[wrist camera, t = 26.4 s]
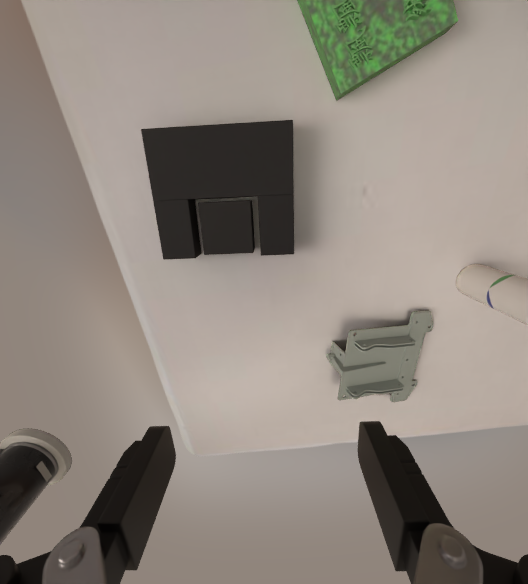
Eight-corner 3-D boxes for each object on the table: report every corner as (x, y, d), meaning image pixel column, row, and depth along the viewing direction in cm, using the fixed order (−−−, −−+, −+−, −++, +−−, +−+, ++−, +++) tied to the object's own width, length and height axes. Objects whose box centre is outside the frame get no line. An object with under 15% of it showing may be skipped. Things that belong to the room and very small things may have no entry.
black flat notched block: (172, 254, 35) (163, 259, 32) (152, 135, 31) (140, 129, 28) (292, 249, 35) (293, 254, 32) (290, 127, 30) (292, 119, 27)
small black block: (209, 250, 35) (204, 254, 32) (204, 202, 33) (197, 202, 30) (254, 248, 35) (253, 252, 32) (252, 200, 33) (250, 200, 30)
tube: (495, 268, 35) (650, 314, 21) (479, 298, 36) (614, 360, 22) (465, 260, 34) (600, 302, 20) (450, 290, 36) (566, 349, 22)
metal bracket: (337, 422, 36) (354, 323, 31) (318, 393, 42) (330, 305, 37) (422, 406, 40) (449, 315, 35) (394, 381, 45) (415, 299, 40)
